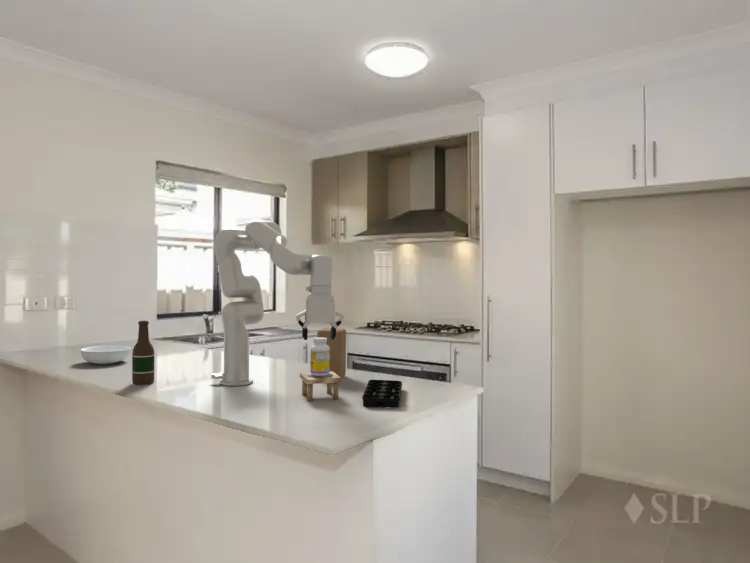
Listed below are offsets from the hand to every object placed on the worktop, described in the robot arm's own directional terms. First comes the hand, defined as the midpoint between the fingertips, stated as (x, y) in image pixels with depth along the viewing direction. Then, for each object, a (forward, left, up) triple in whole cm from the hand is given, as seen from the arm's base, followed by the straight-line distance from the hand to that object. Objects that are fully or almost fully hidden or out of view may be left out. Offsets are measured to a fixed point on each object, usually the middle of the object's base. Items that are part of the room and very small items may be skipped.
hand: (319, 339), depth 186 cm
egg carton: (+21, -8, -21) cm, 31 cm away
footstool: (0, -1, -20) cm, 20 cm away
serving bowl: (-80, +91, -20) cm, 123 cm away
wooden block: (+12, +30, -20) cm, 39 cm away
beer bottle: (-60, +39, -20) cm, 74 cm away
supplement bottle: (0, 0, -13) cm, 13 cm away
